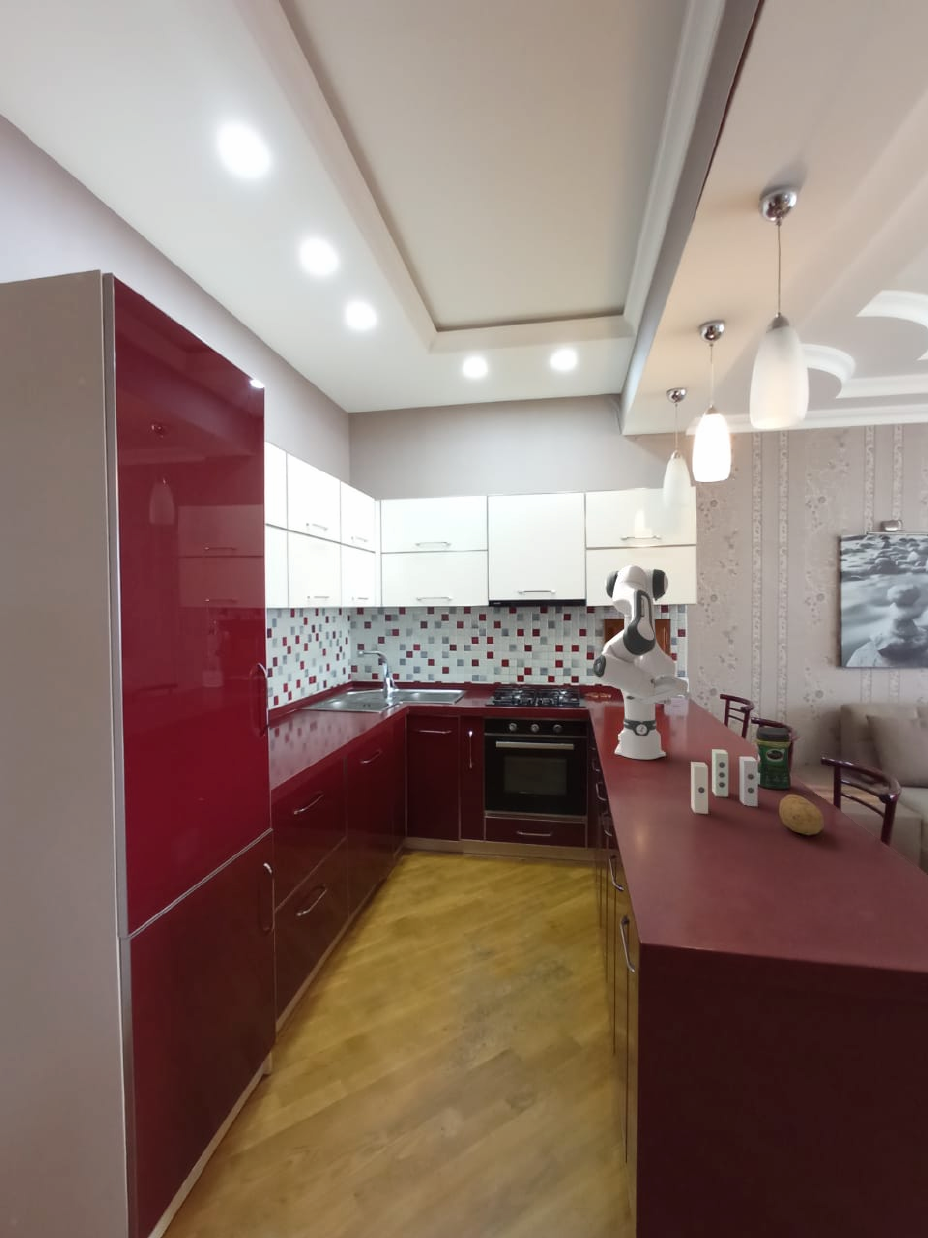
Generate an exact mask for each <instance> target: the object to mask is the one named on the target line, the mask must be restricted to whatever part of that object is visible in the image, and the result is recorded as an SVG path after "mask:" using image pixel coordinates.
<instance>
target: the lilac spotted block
mask: <svg viewBox="0 0 928 1238" xmlns="http://www.w3.org/2000/svg"><path fill="white" fill-rule="evenodd" d="M757 763H758V759H757V760H756V758H755V757H753V756H739V801H740V802H741V804H742V803H743V804H744V805H747V806H748V807H758V784H757ZM743 804H742V805H743ZM744 805H743V806H744ZM747 806H746V807H747Z"/></svg>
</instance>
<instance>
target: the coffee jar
mask: <svg viewBox="0 0 928 1238" xmlns="http://www.w3.org/2000/svg"><path fill="white" fill-rule="evenodd" d="M755 732H756V733H755V743H756V746H757V761H758V763H757V786H760V787H762V788H766V789H774V790H788V789H791V787H792V782H791V781H792V779H791V772H790V767H789V765H790V764H789V752H788V751H789V747H790V746H791V739H790V734H789V731H788V729H786V728H785V727H784V728H783V727H782V728H781V727H770V726H769V727H768V726H767V727H765V726H758V727H757V728H756V731H755Z"/></svg>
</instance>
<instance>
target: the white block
mask: <svg viewBox="0 0 928 1238" xmlns="http://www.w3.org/2000/svg"><path fill="white" fill-rule="evenodd" d="M711 791H712V793H713V794H714V796H715V797H727V796H728V797H729V753H728V751H726V750H725V749H711Z"/></svg>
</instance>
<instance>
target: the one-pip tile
mask: <svg viewBox="0 0 928 1238" xmlns="http://www.w3.org/2000/svg"><path fill="white" fill-rule="evenodd" d="M690 772H691V773H690V792H691V793H690V797H691V798H690V801H691V803H690V807H691V809H692V811H693V813H694V814H705V815H706V814H708V815H709V767H708V765H707V764H706V763H705V762H704V761H703V762H697V761H691V762H690Z"/></svg>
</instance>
